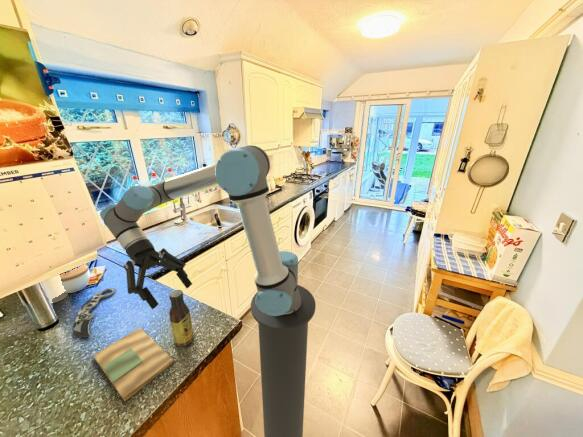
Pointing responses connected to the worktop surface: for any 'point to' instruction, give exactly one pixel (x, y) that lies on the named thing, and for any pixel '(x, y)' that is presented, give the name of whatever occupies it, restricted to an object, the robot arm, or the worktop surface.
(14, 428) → the worktop surface
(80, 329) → the knife
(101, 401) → the worktop surface
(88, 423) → the worktop surface
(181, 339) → the sauce bottle
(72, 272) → the lidded bowl
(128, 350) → the chopping board
